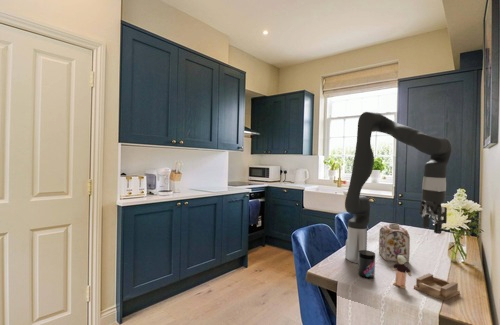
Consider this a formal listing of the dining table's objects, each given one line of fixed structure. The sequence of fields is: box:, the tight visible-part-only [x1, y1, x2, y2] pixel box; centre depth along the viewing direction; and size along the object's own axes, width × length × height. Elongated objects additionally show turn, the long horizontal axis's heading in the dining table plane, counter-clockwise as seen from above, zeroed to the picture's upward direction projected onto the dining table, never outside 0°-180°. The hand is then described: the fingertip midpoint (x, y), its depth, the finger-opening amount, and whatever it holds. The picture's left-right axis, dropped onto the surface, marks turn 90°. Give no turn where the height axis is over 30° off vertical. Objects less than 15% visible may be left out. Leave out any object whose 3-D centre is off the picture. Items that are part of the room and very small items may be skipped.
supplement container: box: [357, 249, 376, 280], centre depth 116 cm, size 7×7×10 cm
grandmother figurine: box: [391, 255, 413, 289], centre depth 107 cm, size 8×4×13 cm, turn 45°
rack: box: [413, 273, 461, 302], centre depth 104 cm, size 11×12×4 cm
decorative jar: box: [378, 222, 411, 263], centre depth 139 cm, size 12×12×18 cm
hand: (431, 230), depth 102 cm, fingers open, 8 cm apart
